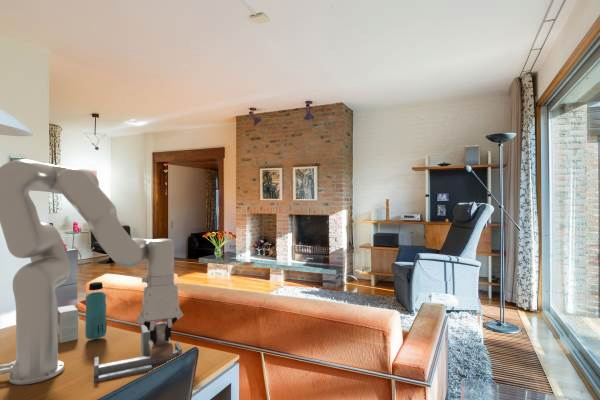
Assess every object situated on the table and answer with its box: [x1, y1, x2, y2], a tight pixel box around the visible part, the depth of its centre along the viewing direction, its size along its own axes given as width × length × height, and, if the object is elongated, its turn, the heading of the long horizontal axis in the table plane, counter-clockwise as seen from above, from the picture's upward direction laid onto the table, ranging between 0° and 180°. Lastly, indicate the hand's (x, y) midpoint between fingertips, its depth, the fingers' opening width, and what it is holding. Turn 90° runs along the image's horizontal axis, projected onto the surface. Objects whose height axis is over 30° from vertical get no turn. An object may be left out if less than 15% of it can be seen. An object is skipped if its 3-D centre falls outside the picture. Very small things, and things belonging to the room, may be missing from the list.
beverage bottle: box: [84, 281, 108, 340], centre depth 125 cm, size 6×7×20 cm
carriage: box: [148, 321, 174, 360], centre depth 108 cm, size 6×7×9 cm
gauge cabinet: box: [140, 321, 171, 357], centre depth 115 cm, size 8×7×8 cm
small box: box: [58, 304, 79, 344], centre depth 126 cm, size 8×6×10 cm
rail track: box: [93, 342, 183, 383], centre depth 105 cm, size 23×8×4 cm, turn 119°
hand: (160, 340), depth 108 cm, fingers closed on carriage, 3 cm apart
